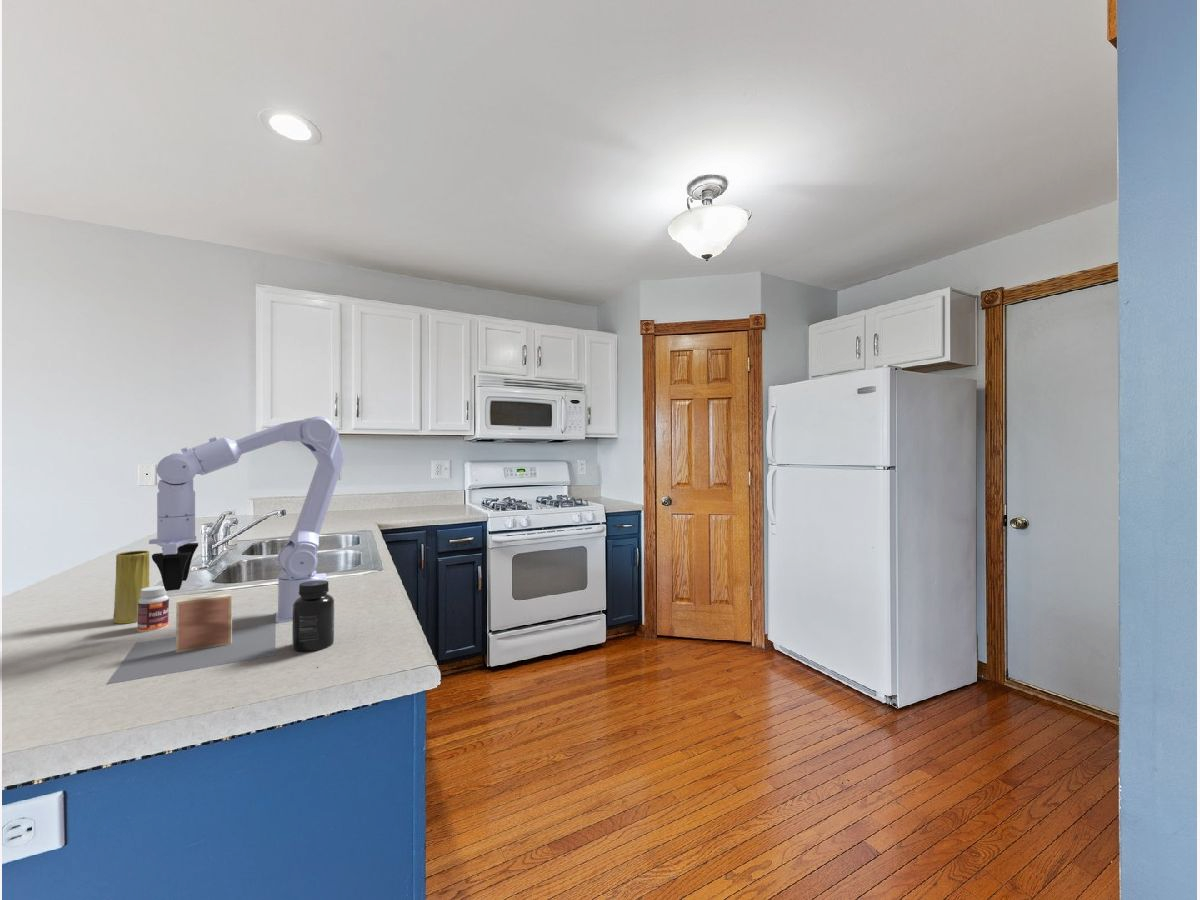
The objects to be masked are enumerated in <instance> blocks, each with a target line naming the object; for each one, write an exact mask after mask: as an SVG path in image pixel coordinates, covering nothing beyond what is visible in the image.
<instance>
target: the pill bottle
mask: <svg viewBox="0 0 1200 900" xmlns="http://www.w3.org/2000/svg"><path fill="white" fill-rule="evenodd" d="M167 592H168V591H166V590H165V588H164V585H153V586H149V587H147V588H143V589H141V593H140V596H141V597H142V598H141V599H140V600H139V601H138V622H137V632H140V633H141V632H145V633H146V632H147V633H148V632H154V631H159V630H162V629H165V628H167V627H168V626H169V612H170V611H169V609H170V605H169V604H170V598H169V596H168V595H167Z"/></svg>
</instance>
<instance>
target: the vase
mask: <svg viewBox="0 0 1200 900" xmlns="http://www.w3.org/2000/svg"><path fill="white" fill-rule="evenodd" d="M114 585H115V586H114V602H113V603H114V606H113V617H112V623H113V624H116V625H123V624H124V625H126V624H134V623H138V601H139V600H140V599H141V598H142V597H141V596H140V593H141V589H143V588H147V587H150V551H149V550H132V551H124V552H120V553H119V552H118V553H116V556H115V584H114Z"/></svg>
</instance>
